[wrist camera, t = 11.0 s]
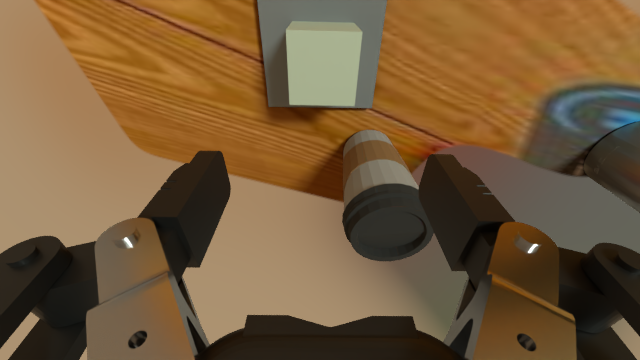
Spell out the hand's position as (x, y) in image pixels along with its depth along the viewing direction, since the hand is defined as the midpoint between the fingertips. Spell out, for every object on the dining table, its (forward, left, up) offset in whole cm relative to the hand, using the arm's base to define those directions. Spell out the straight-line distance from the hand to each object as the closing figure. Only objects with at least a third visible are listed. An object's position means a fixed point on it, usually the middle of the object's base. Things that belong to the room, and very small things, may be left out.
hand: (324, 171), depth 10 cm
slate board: (0, 0, -22) cm, 22 cm away
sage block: (0, 0, -21) cm, 21 cm away
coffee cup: (-6, +12, -22) cm, 26 cm away
